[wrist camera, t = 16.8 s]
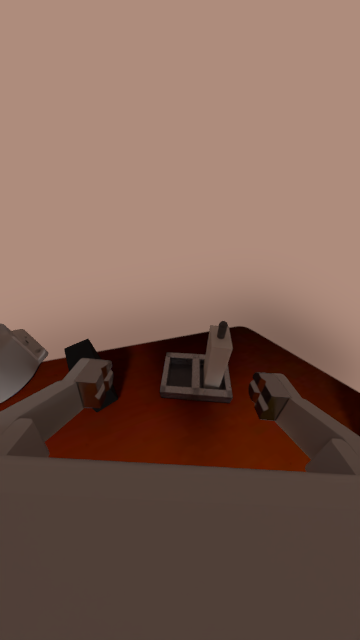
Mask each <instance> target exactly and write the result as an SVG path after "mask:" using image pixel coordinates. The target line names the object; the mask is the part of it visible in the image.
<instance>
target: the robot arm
mask: <svg viewBox="0 0 360 640" xmlns="http://www.w3.org/2000/svg"><path fill="white" fill-rule="evenodd" d="M47 355H48V352H47V351H46V350H45V349H44V348H43V347H42V346H41V345H40V344H39V343H38V342H37V341H36V340H34V339H33V338H32V337H31V336H30V335H29V334H28V333H27V332H26V331H25V330H23V329H20V330H14V331H10V330H9V329H8V328H7V327H6V326H5V325H4V324H0V403H1V402H3V401H5V400H6V399H8V398H10V397H11V396H12V395H14V394H15V393H16V392H18V391H19V390H20V389H21V388H22V387H23V386H24V385H25V384H26V383H27V382H28V381H29V380H30V379H31V377H32V376H33V375H34V373H35V371H36V369H37V367H38V366H39V364H40V363H41V362H42V361H43V360H44V359H45V358H46V357H47ZM111 367H112V361H110V360H100V359H89V358H82V359H80V360H79V361H78V362H77V364H76V365H75V366H74V367H73V368H72V369H71V371H70V372H69V373H68V374H67V375H66V377H65V378H64V379H63V380H62V381H58V382H56V383H54V384H52V385H50V386H48V387H46V388H44V389H42V390H41V391H39V392H37V393H35V394H33V395H31V396H29V397H27V398H25V399H24V400H22V401H20V402H18V403H16V404H14V405H12V406H10V407H8V408H7V409H5V410H3V411H1V412H0V640H360V436H358V435H357V434H355V433H354V432H352V431H351V430H349V429H348V428H346V427H345V426H344V425H342V424H341V423H339V422H338V421H336V420H335V419H333V418H332V417H330V416H329V415H327V414H326V413H325V412H323V411H322V410H320V409H319V408H317V407H316V406H314V405H313V404H311V403H310V402H309V401H307V400H306V399H302V398H301V396H300V395H299V394H298V392H297V391H296V390H295V389H294V387H293V386H292V385H291V383H290V382H289V381H288V379H287V378H286V377H285V376H284V375H283V374H275V373H273V374H272V373H259V372H256V373H254V375H253V379H254V380H253V381H252V382H250V384H249V396H250V398H251V400H252V401H253V402H254V403H255V407H254V408H255V410H256V412H257V414H258V417H259V419H262V420H272V421H275V422H276V423H277V424H278V425H279V426H280V427H281V428H282V429H283V430H284V431H285V432H286V434H287V435H288V436H289V437H290V438H291V439H292V440H293V441H294V442H295V443H296V444H297V445H298V446H299V447H300V448H301V449H302V450H303V451H304V452H305V453H306V455H307V456H308V457H309V458H310V459H311V461H310V462H309V463H308V464H307V465H306V467H305V469H306V471H307V472H296V471H278V470H261V469H243V468H226V467H208V466H190V465H173V464H155V463H137V462H119V461H102V460H84V459H66V458H48V456H49V450H48V448H47V446H46V445H45V443H44V442H45V441H46V440H47V439H49V438H50V437H51V436H52V435H53V434H54V433H56V432H57V431H58V430H59V429H60V428H61V427H63V426H64V425H65V424H66V423H67V422H68V421H70V420H71V419H72V418H73V417H74V416H75V415H77V414H78V413H79V412H80V411H81V410H82V409H83V408H101V406H102V404H103V402H104V400H105V398H106V392H107V391H108V390H109V389H110V387H111V385H112V382H113V371H112V370H111Z"/></svg>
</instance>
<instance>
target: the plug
mask: <svg viewBox="0 0 360 640" xmlns="http://www.w3.org/2000/svg"><path fill="white" fill-rule="evenodd" d="M232 349H233V348H232V342H231V336H230V331H229V327H228V325H227V322H225V321H222V322H221V323H220V324H219V326H210V331H209V337H208V343H207V349H206V355H205V362H204V368H203V389H216V390H219V387H220V384H221V381H222V378H223V375H224V372H225V369H226V366H227V364H228V361H229V358H230V355H231V352H232Z"/></svg>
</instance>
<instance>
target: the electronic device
mask: <svg viewBox="0 0 360 640" xmlns="http://www.w3.org/2000/svg"><path fill="white" fill-rule="evenodd" d="M65 354H66V359H67V364H68V368H69V372H70V371H71V369H72V368H73V367H74V366H75V365H76V364H77V362H78V361H79V360H80V359H82V358H89V359H100V360H101V358H100V357H99V355H98V354H97V352H96V350H95V349H94V347H93V345H92V344H91V342H90V341H89V340H88V339H86V340H84V341H81V342H79V343H76V344H74V345H72V346H70V347H67V348H65ZM116 400H118V397H117V394H116V392H115V389H114V387H113V384H112V385H111V387H110V389H109V390H108V391H107V392H106V398H105V400H104V402H103V404H102V406H101V408H93V409H94V410H95V411H96V412H99V411H100V410H102V409H103V408H105V407H107V406H108V405H110V404H111V403H113V402H115V401H116Z"/></svg>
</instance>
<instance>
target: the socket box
mask: <svg viewBox="0 0 360 640" xmlns="http://www.w3.org/2000/svg"><path fill="white" fill-rule="evenodd" d="M204 362H205V355H202V354H186V353H170V352H167V353H166V359H165V365H164V370H163V376H162V382H161V387H160V395H161V398H172V399H184V400H196V401H208V402H220V403H230V402H231V400H232V398H233V397H232V390H231V383H230V377H229V370H228V364H227V366H226V369H225V372H224V375H223V378H222V381H221V384H220V387H219V390H216V389H203V368H204Z"/></svg>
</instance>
